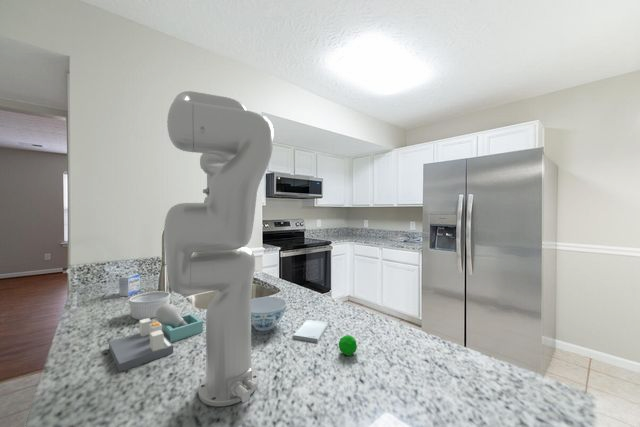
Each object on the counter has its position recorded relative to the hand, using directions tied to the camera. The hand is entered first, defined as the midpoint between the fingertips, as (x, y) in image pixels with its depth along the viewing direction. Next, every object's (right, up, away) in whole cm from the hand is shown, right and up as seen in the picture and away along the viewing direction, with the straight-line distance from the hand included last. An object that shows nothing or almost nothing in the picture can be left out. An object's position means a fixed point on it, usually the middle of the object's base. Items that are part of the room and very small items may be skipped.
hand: (219, 244), depth 87 cm
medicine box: (-57, -28, +37) cm, 74 cm away
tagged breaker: (-14, -26, -11) cm, 32 cm away
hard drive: (+31, -29, -3) cm, 43 cm away
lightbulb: (-10, -28, -2) cm, 29 cm away
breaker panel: (-17, -28, -14) cm, 36 cm away
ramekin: (-31, -29, +12) cm, 44 cm away
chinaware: (+15, -29, +1) cm, 32 cm away
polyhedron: (+42, -29, -16) cm, 53 cm away
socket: (-11, -28, -3) cm, 31 cm away
